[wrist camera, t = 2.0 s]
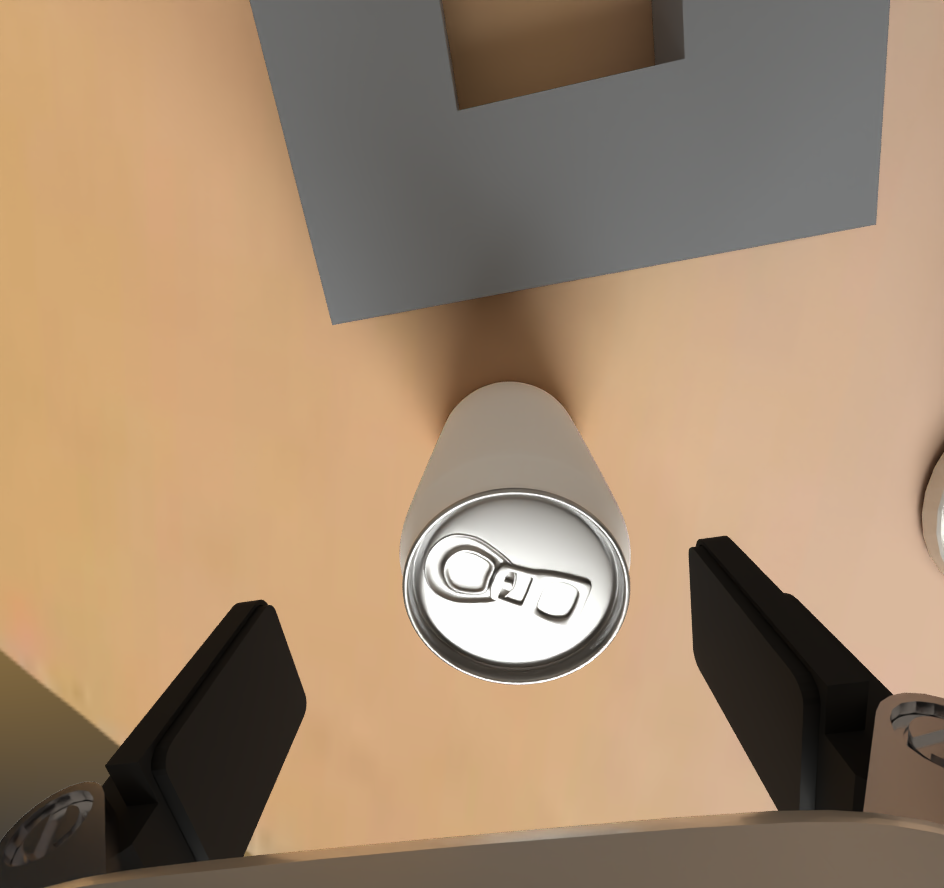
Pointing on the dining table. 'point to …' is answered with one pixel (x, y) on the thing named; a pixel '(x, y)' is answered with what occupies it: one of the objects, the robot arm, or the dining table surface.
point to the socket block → (570, 147)
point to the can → (514, 542)
